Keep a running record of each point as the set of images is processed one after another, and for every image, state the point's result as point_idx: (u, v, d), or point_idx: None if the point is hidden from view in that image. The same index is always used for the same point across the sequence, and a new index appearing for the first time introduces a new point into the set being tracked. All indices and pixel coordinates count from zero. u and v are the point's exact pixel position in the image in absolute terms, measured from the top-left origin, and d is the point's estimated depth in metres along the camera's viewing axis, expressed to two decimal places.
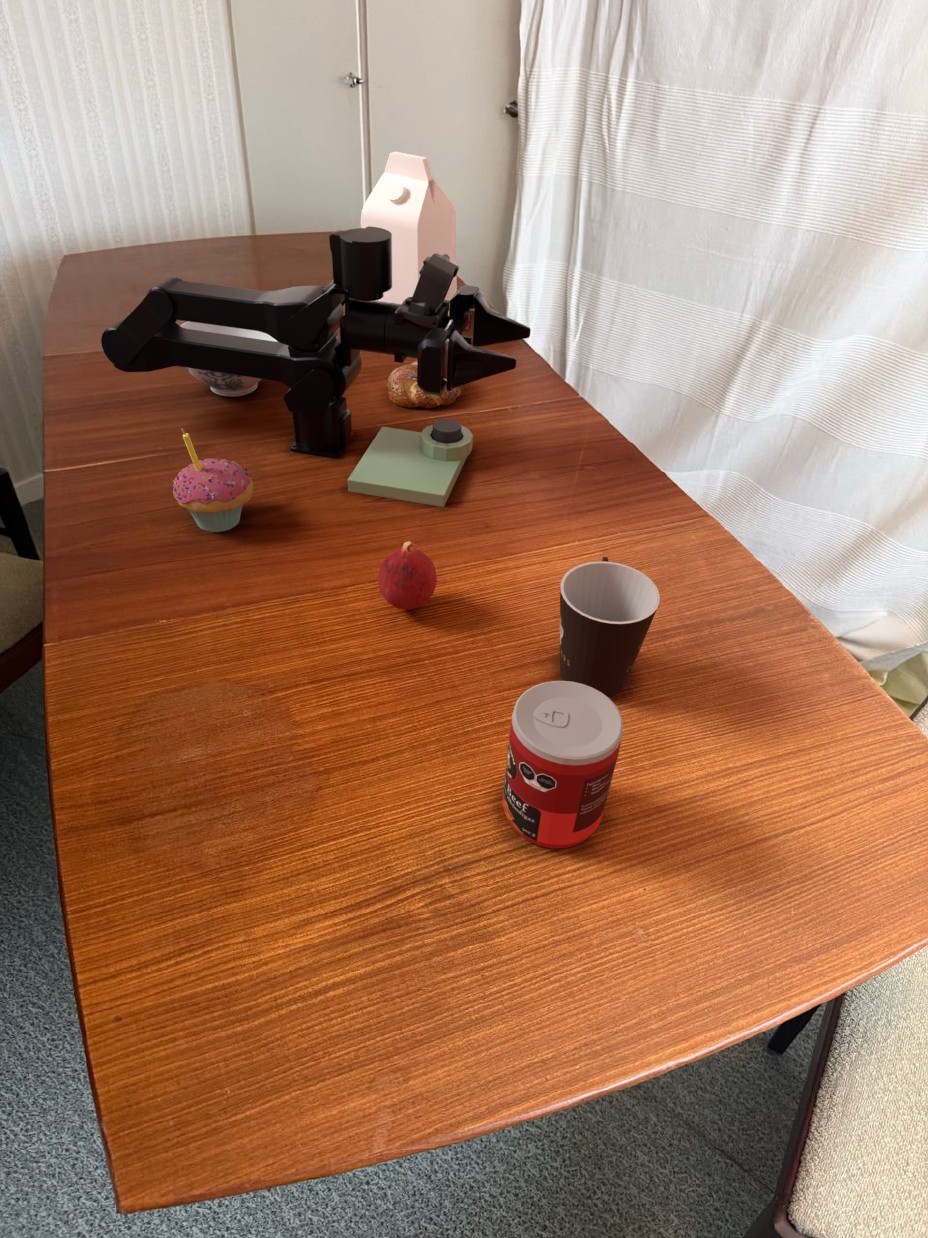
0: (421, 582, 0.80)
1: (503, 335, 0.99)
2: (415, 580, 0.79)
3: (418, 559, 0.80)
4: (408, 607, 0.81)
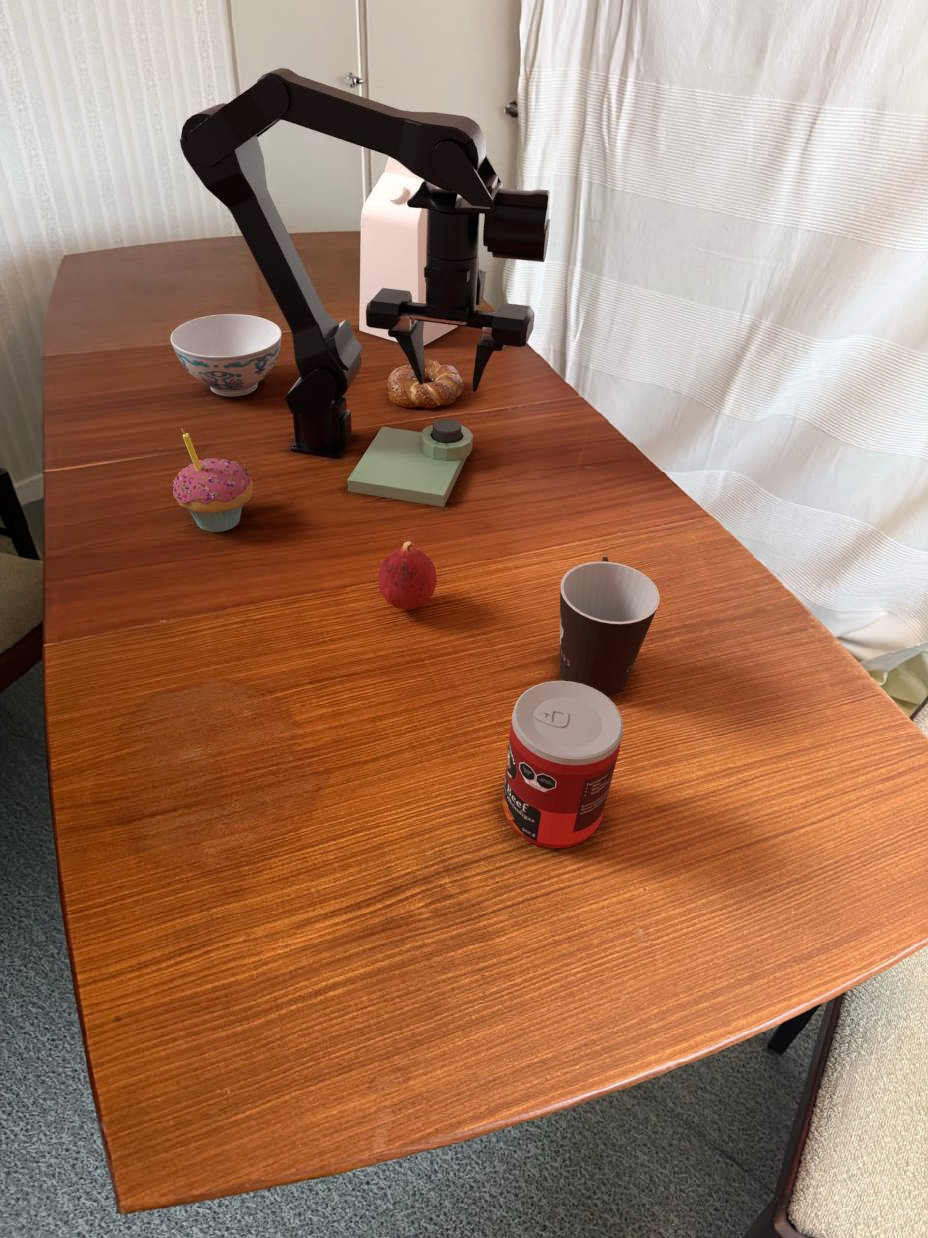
0: (421, 582, 0.80)
1: (420, 360, 0.99)
2: (415, 580, 0.79)
3: (418, 559, 0.80)
4: (408, 607, 0.81)
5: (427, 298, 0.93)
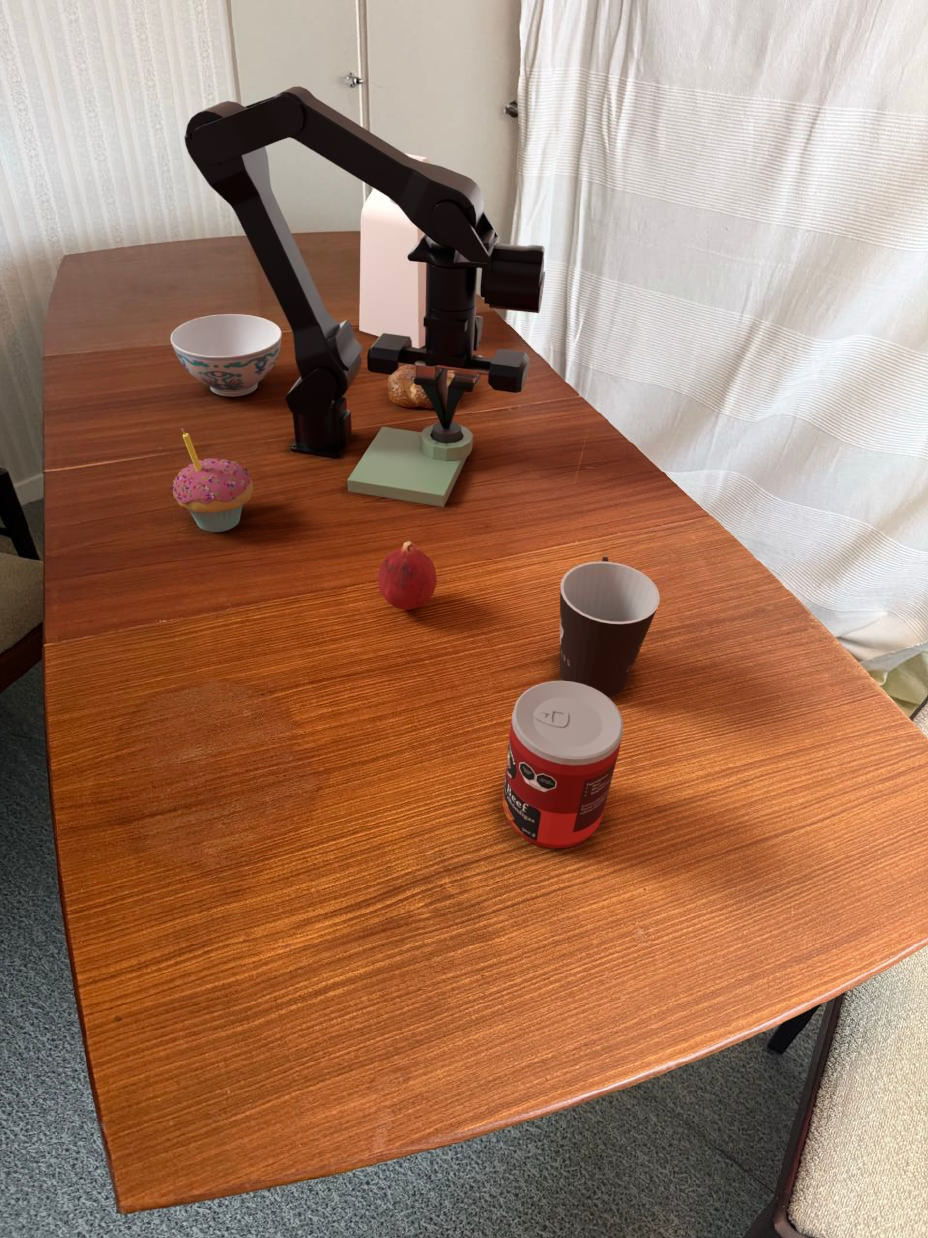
0: (421, 582, 0.80)
1: (444, 406, 1.02)
2: (415, 580, 0.79)
3: (418, 559, 0.80)
4: (408, 607, 0.81)
5: (426, 345, 0.96)
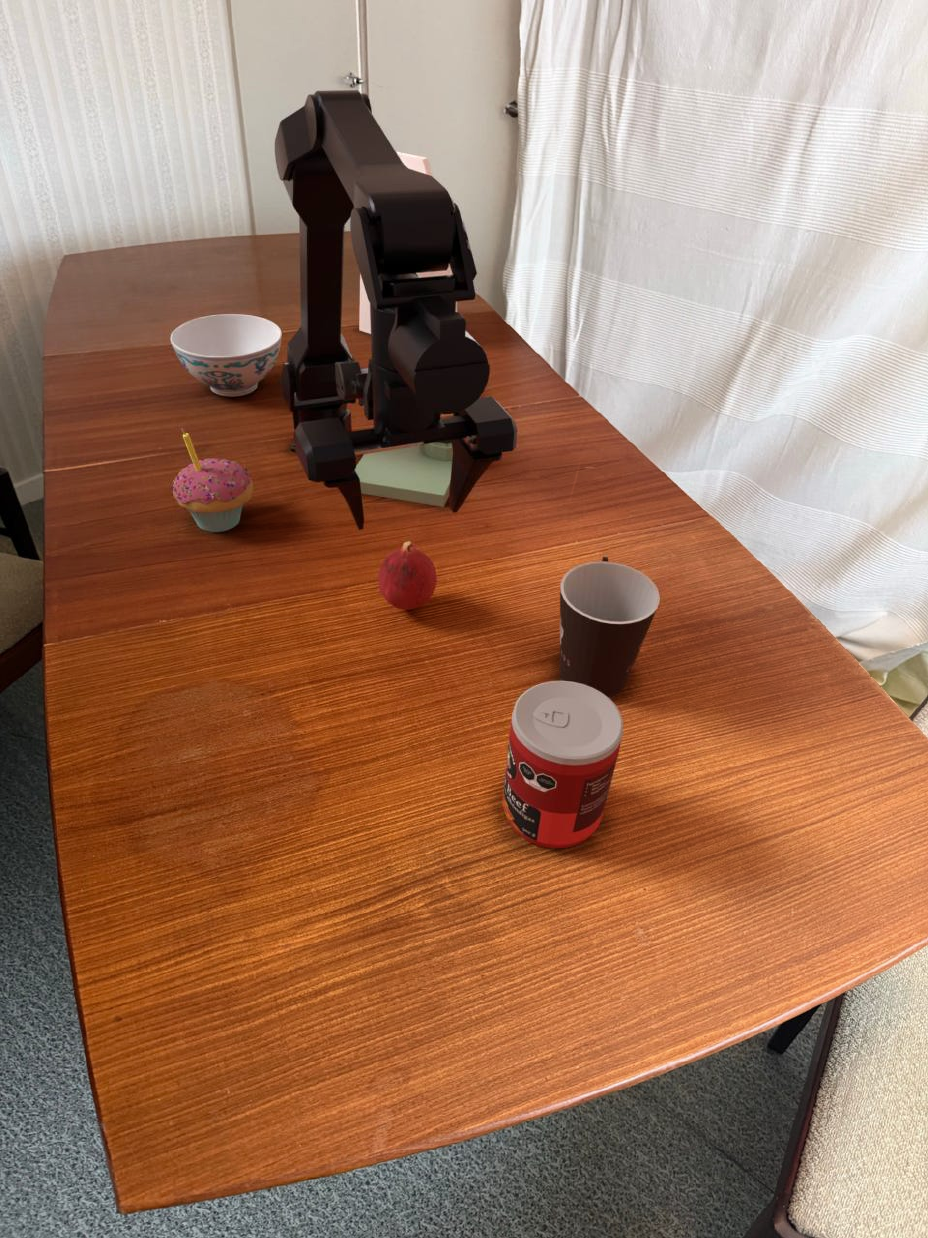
0: (421, 582, 0.80)
1: None
2: (415, 580, 0.79)
3: (418, 559, 0.80)
4: (408, 607, 0.81)
5: (386, 424, 0.68)
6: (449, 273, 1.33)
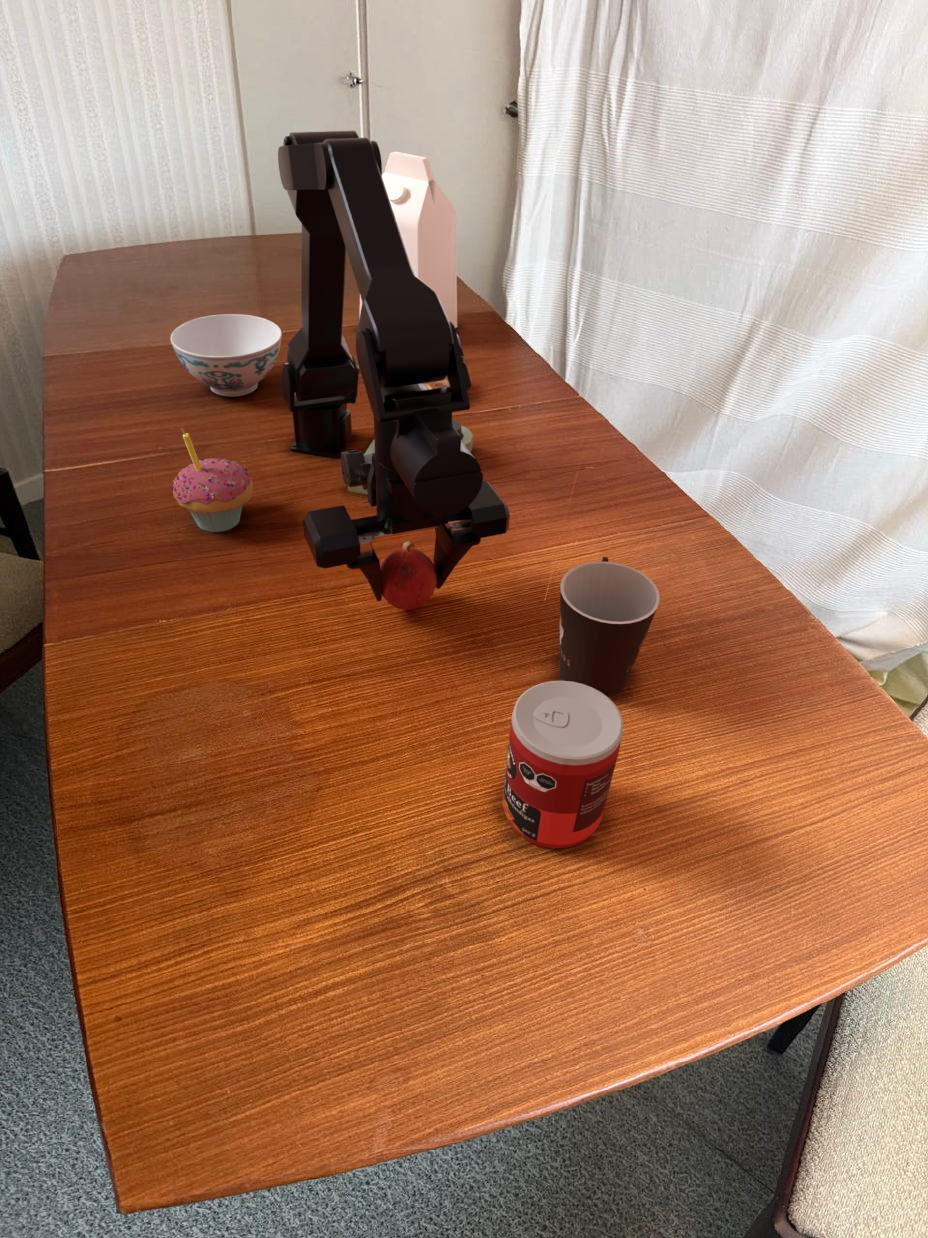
0: (420, 582, 0.80)
1: None
2: (415, 580, 0.79)
3: (418, 560, 0.80)
4: (408, 607, 0.81)
5: (388, 514, 0.74)
6: (449, 273, 1.33)
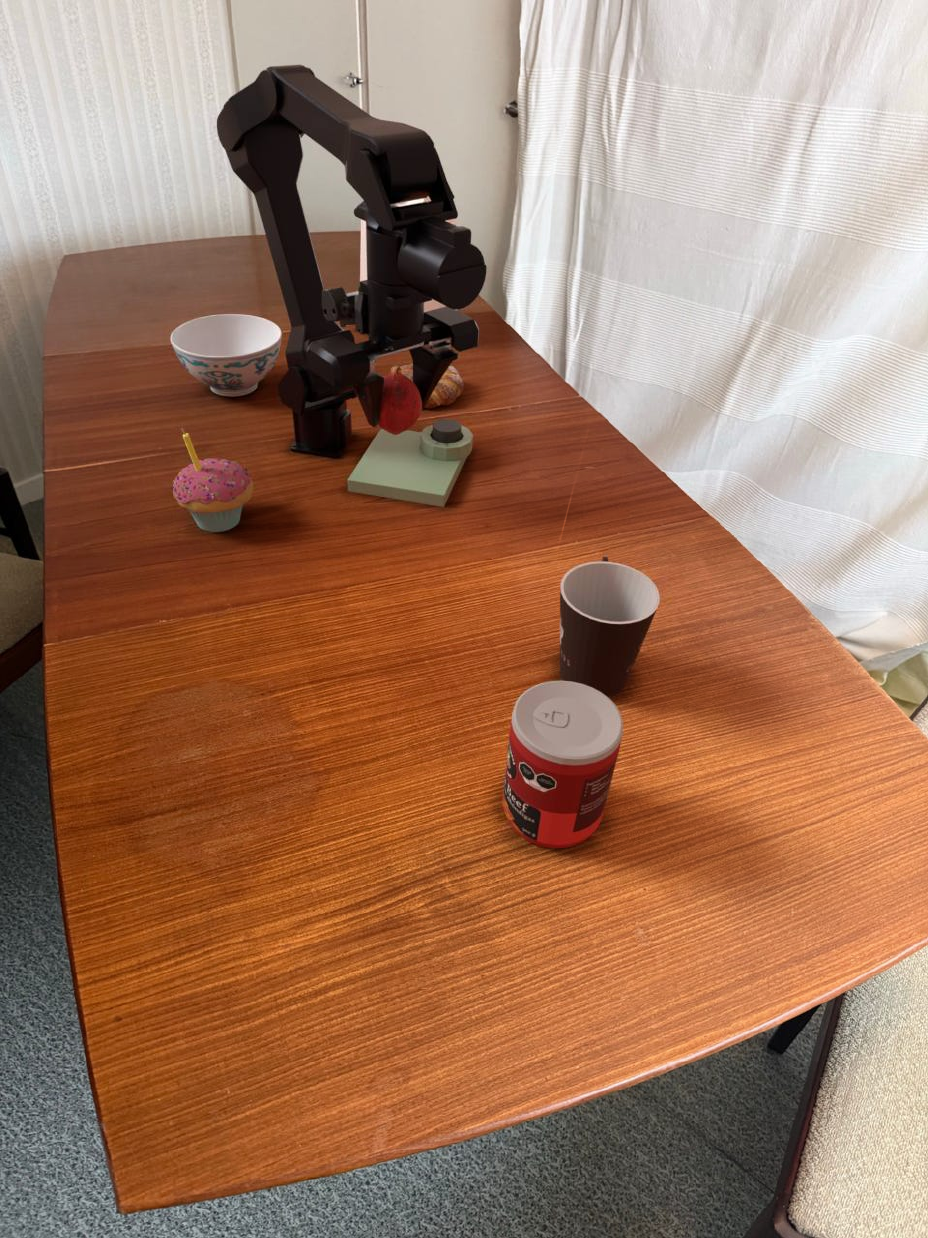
0: (413, 400, 0.90)
1: None
2: (409, 399, 0.89)
3: (407, 381, 0.89)
4: (403, 427, 0.91)
5: (387, 332, 0.83)
6: None
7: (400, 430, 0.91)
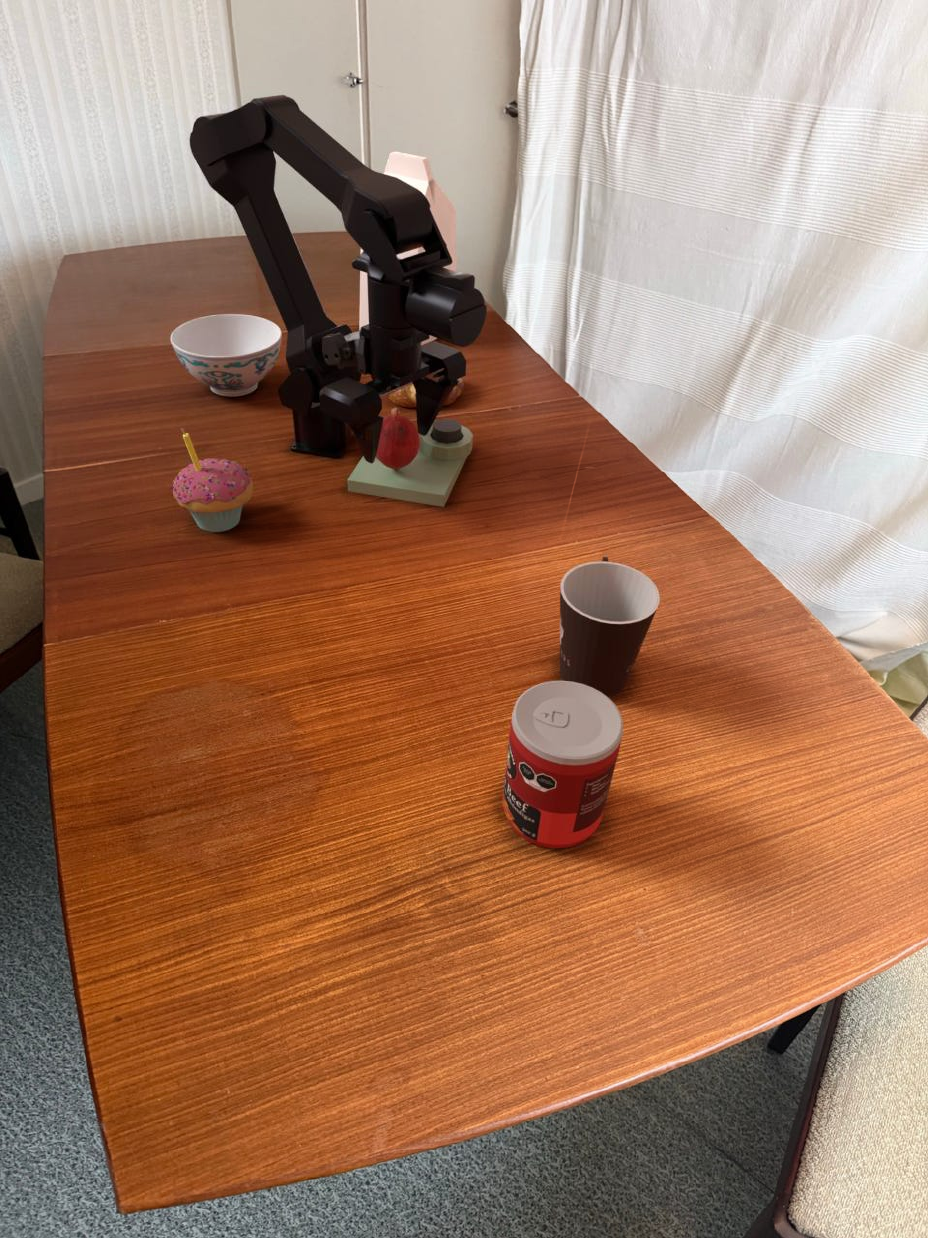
0: (414, 437, 0.98)
1: None
2: (410, 436, 0.97)
3: (406, 420, 0.97)
4: (406, 462, 0.99)
5: (392, 371, 0.90)
6: None
7: (403, 465, 0.99)
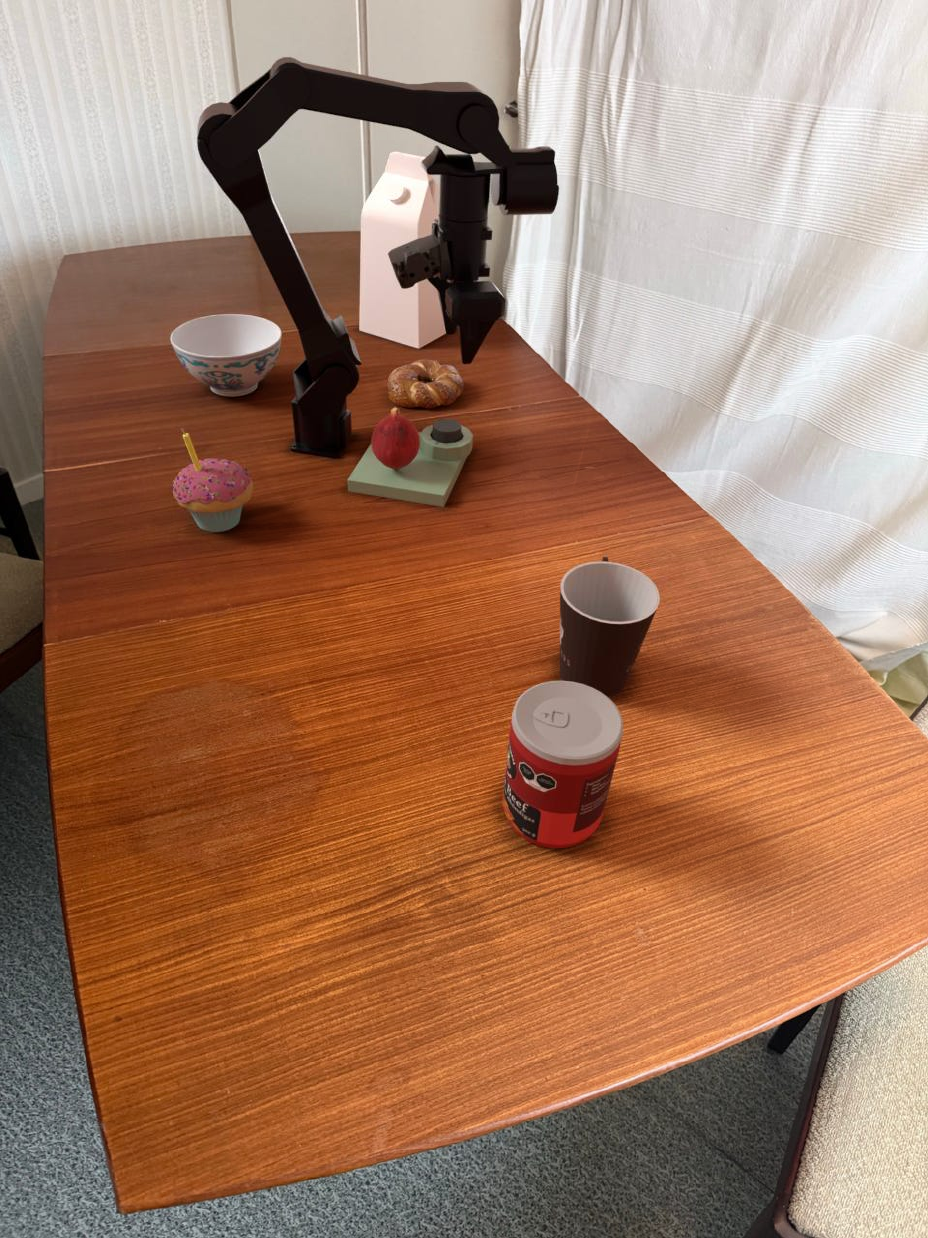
0: (414, 438, 0.98)
1: None
2: (410, 436, 0.97)
3: (406, 420, 0.97)
4: (406, 462, 0.99)
5: (480, 264, 0.96)
6: None
7: (403, 465, 0.99)
